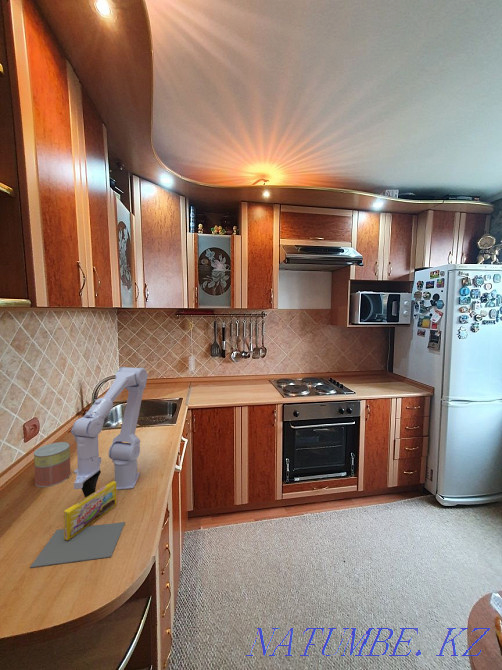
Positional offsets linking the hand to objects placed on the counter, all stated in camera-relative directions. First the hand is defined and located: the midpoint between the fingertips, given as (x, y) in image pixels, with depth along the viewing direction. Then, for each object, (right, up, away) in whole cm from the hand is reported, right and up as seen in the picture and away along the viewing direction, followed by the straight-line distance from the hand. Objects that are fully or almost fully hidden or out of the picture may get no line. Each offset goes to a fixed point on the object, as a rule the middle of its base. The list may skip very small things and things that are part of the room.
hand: (89, 496), depth 84 cm
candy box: (+2, -6, -3) cm, 7 cm away
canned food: (-26, -5, +20) cm, 34 cm away
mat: (+4, -7, -10) cm, 13 cm away
